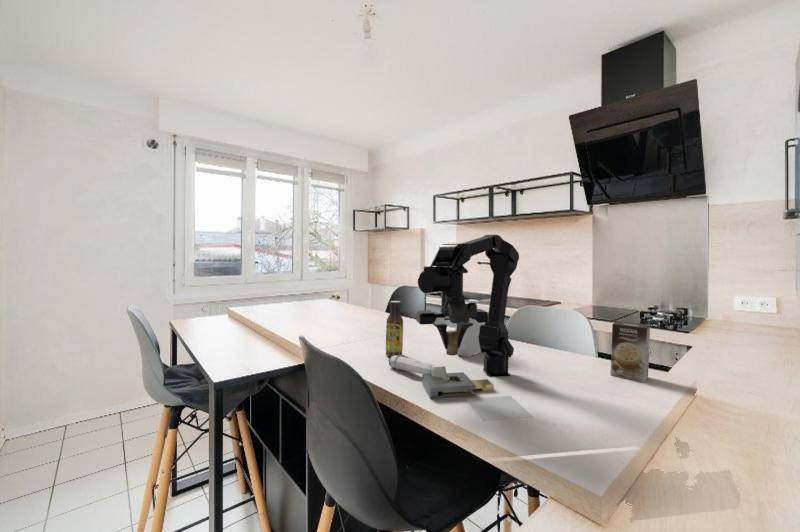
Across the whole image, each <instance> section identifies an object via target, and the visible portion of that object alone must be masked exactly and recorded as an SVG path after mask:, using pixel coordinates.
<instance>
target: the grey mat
mask: <svg viewBox="0 0 800 532" xmlns="http://www.w3.org/2000/svg"><path fill="white" fill-rule="evenodd" d="M465 400H466V401H467V402H468V404H469V405H470V406H471V408H473V410H474V411H475V413H476V414H477V415H478V416H479V417H480V419H481V420H482V421H483V422H484V421H495V420H497V421H498V420H499V421H500V420H511V419H526V418H527V419H528V418H534V416H533V414H531V413H530V412H529V411H528V410H527V409H526V408H524V406H522V404H520V403H519V402H518V401H517V400H516V399H515V398H514V397H512V396H511V395H506V396H503V395H501V396H500V395H498V396H485V397H483V396H482V397H465Z"/></svg>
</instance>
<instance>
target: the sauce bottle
mask: <svg viewBox="0 0 800 532" xmlns="http://www.w3.org/2000/svg"><path fill="white" fill-rule="evenodd" d="M389 301H390V302H389V315H388V317H387V318H386V325H385V327H386V328H385V355H386V356H387V357H389V358H390V357H391V356H394V355H396V356H400V355H402V356H403V346H404V319H403V317H402V315H401V306H402V302H401V300H389Z"/></svg>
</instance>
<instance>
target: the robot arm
mask: <svg viewBox="0 0 800 532" xmlns="http://www.w3.org/2000/svg"><path fill="white" fill-rule="evenodd" d="M484 252H485V253H484ZM482 253H484V254H485V256H486V257H487V258H488V259H489V268H490V270H491V271H492V274H493V277H492V283H491V284H492V285H491V292H490V299H489V305H488V306H489V307H488V312H487V311H486V310H484V309H481V308H478V305H477V302H474V303H469V302H468V303H466V301H465V299H466V298H465V295H464V274H468V273H469V270H468V269H467V268H466V267H465V266H464V265H465V264H466V263H468V262H469V261H470V260H471V257H473V256H476V255H478V254H482ZM519 254H520V253H519V251H518V250H517V249H516V248H515V247H514V245H513V244H511V243H510V242H507V241H506V240H504V239H503V238H502V236H500V235H498V234H485V235H483V236H481V237H477V238H475V239H471V240H467V241H465V242H461V243H442V244H441V245H439V248H438V250H437V252H436V254H435V255H434V256H435V257H434V258H433V260H432V261H431V264H430V266H429V265H425V266H423V271H422V272H421V273H420V274H419V276H418V279H417V285H418V289H420V291H421V292H422V293H424V294H433V293H440V298H441V299H440V300H441V304H440V305H441V306H440V307H441V308H440V312H439V313H437V312H436V313H434V311H432V310H430V309H429V310H418V311H417V312H416V313H415V320H416V322H417V323H418V324H419V325H433V327H435V328H437V331H438V332H439V335H440V337H441V341H442V344H443V346H444V347H443V348H445V349H447V332H446V331H447V329H448V325H447V323H446V321H449V322H450V323H452V324H456V325H457V328H456V327H455V328H456V331H457V332H458V348H459V347H460V345H461V342H462V339H463V336H464V334H465V332H466V330H467V329H468V328H469V327H470V326H473V323H472V319H475V320H476V321H477V322H478V323H485V324H484V325H481V326H480V332H479V336H478V338H479V344H480V349H481V352H480V353H484V355H485V356H484V357H483V368H482V369H483V372H484V371H485V372H484V373H485V374H486V375H487V376H489V377H490V378H497V377H500V378H501V377H511V373H510V372H509V358H512V356H513V355H514V349H515V348H514V347H513V344H512V343H511V342H510V340H509V331H508V329H507V328H508V327H506V324H505V317H506V310H507V303H508V302H507V301H508V295H509V286H510V278H511V276H512V275H513V273H514V272H515V271H516V269H517V266H518V263H519V259H520V255H519Z"/></svg>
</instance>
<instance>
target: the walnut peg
mask: <svg viewBox="0 0 800 532" xmlns="http://www.w3.org/2000/svg"><path fill="white" fill-rule="evenodd" d="M446 332H447V349H446V350H445V351H446V352H445V354H446V355H447V356H458V355H457V354H458V332H457V331H455V330H446Z"/></svg>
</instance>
